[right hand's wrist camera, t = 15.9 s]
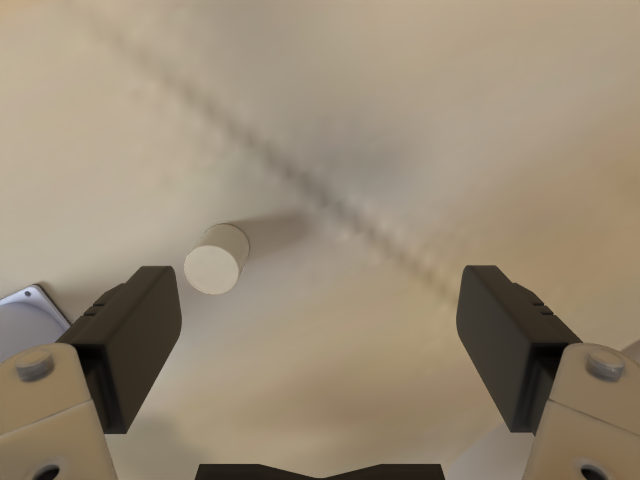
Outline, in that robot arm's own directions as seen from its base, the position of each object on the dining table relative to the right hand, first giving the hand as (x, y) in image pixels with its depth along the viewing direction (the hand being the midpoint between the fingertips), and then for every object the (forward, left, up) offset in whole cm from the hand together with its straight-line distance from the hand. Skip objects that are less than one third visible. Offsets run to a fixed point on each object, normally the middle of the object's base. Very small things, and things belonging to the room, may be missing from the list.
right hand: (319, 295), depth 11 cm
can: (-2, -10, -21) cm, 24 cm away
